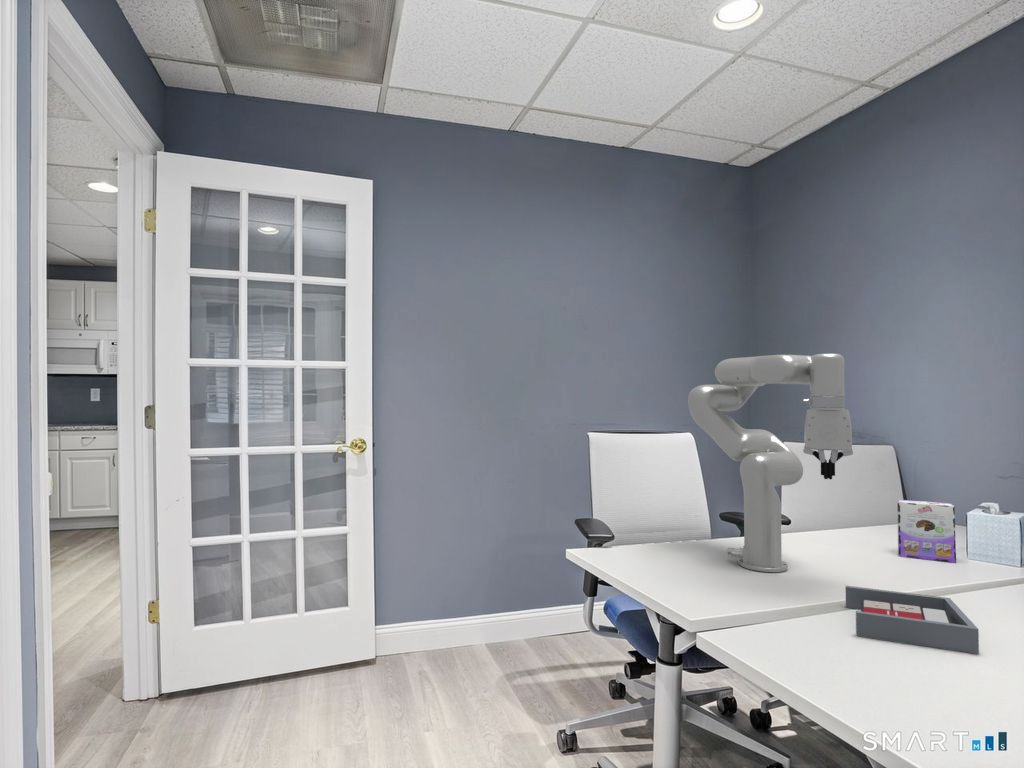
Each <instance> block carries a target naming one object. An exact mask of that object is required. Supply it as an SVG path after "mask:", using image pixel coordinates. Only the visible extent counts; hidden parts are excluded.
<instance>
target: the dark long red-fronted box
mask: <svg viewBox="0 0 1024 768" xmlns="http://www.w3.org/2000/svg"><path fill="white" fill-rule="evenodd" d="M860 611H862V612H869V613H877V614H884V615H892V616H899V617H907V618H914V619H921V620H929V621H936V622H944V623H951V621H950V618H949V615H948V613H947V612H945V611H944V610H937V609H928V608H923V609H920V607H919V606H911V605H902V604H893V605H890V603H885V602H877V601H868V600H864V602H862V603H861V609H860Z"/></svg>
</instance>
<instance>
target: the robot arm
mask: <svg viewBox="0 0 1024 768" xmlns="http://www.w3.org/2000/svg"><path fill="white" fill-rule="evenodd" d="M714 376H715V378H716V380H717V381H718V383H720V384H709V383H708V384H701V385H698V386H695V387H694V388H692V389H691V390H690V392H689V393H688V396H687V406H688V411H689V413H690V416H691V418H692V419H693V421H694V422H695V424H696V425H697V426H699V428H701V430H702V431H704V432H705V433H706V434H707V435H708V436H709V437H710V438H711V439H712V440H713V441H714V442H715V444H716V445H717V446H718V447H719V448H720V449H721V450H722V451H723V452H724V453H725V454H726V455H727V457H729V458H730V459H731V460H732V461H735V462H740V463H739V475H740V479H741V482H742V483H741V484H742V490H743V521H744V523H743V526H744V527H743V529H744V530H743V531H744V533H743V536H744V539H743V541H744V543H743V544H744V545H743V547H739V548H733V547H727V555H728V556H729V555H730V556H731V557H739V558H738V565H739V566H741V567H743V568H745V569H747V570H752V571H757V572H763V573H783V572H785V571H787V570H788V569H789V565H788V563H787V562H785V561H784V560H782V557H783V556H782V503H781V499H780V496H779V494H778V492H777V489H776V488H775V487H780V486H782V487H783V486H791V485H796V484H797V483H798V482H800V480H801V479H802V478H803V475H804V466H803V464H802V462H801V460H800V458H799V457H798V455H797V454H795V452H793V450H791V449H790V448H789V447H788V446H787V445H786V444H785V443H784V442H783V441H782V440H781V439H780V438H778V437H777V436H776V435H775V434H774V433H772V432H770V431H769V430H766V429H760V428H759V429H758V428H754V429H751V428H750V429H749V428H744V427H742V426H741V425H740V424H738V423H737V422H736V421H735V420H734V418H732V417H730V416H729V415H727V414H725V413H723V412H734V411H735V412H736V411H737V410H739V409H741V408H742V407H743V406H744V405H745V404H746V403H747V402H748V400H749V399H750V398H751V396H752V395H753V394H754V393H756V390H757V389H759V387H763V386H765V385H771V384H772V385H809V397H808V398H804V399H803V405H807V406H809V409H806V413H805V421H804V432H803V433H804V435H803V436H804V438H803V440H804V446H803V450H802V451H803V453H804V454H805V455H810V456H814V457H815V458H816V459H817V460H818V461H819V462H820V476H823V479H824V480H828V479H829V480H833V477H835V476H836V463H837V462H838V461H839V460H840V459H842V458H844V457H848V456H852V455H853V454H854V452H853V433H852V431H853V430H852V421H851V415H850V410H849V409H845V407H846V405H845V403H846V402H845V401H846V397H845V394H846V393H845V387H846V386H845V359H844V356H843V355H842V354H840V353H818V354H814V355H802V354H773V355H771V354H770V355H760V356H759V355H758V356H747V357H746V356H745V357H734V358H733V357H732V358H727V359H723V360H721V361H720V362H718V364H717V365H716V366H715V369H714ZM825 451H830V457H829V459H826V455H825V454H826V453H825ZM827 461H828V462H827Z"/></svg>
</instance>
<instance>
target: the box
mask: <svg viewBox="0 0 1024 768" xmlns="http://www.w3.org/2000/svg"><path fill="white" fill-rule="evenodd" d="M844 591H845V607H846V608H848V609H856V610H855V634H856V636H857V637H863V638H869V639H873V640H875V639H876V640H882V641H890V642H894V643H895V642H896V643H901V644H902V643H903V644H909V645H915V646H922V647H928V648H934V647H935V648H934V649H942V650H947V651H948V650H949V651H954V652H955V651H956V652H961V651H962V652H963V653H967V652H968V653H969V654H975V655H979V653H980V645H979V643H980V642H979V641H980V640H979V639H980V638H979V634H980V633H979V632H980V631H979V628H978V627H977V626H976V625H975V624H974V623H973V622H972V620H971V619H970V618H969V617H968V616H967V615H966V614H965V613H964V612H963V610H962V609H961V608H959V606H958V605H957V604H956V603H955V602H954V601H953V600H952V599H951V598H950V597H945V596H935V595H928V594H927V595H926V594H921V593H919V594H918V593H911V592H902V591H893V590H885V589H877V588H869V587H860V586H853V585H845V590H844ZM864 600H868V601H877V602H885V603H890V605H893V604H902V605H911V606H919V607H920V609H923V608H928V609H937V610H944V611H945V612H947V613H948V615H949V618H950V621H951V623H944V622H936V621H929V620H921V619H914V618H907V617H899V616H892V615H884V614H877V613H869V612H862V611H861V603H862V602H864Z"/></svg>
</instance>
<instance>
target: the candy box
mask: <svg viewBox="0 0 1024 768" xmlns="http://www.w3.org/2000/svg"><path fill="white" fill-rule="evenodd" d="M896 502H897V503H896V505H897V507H896V508H897V514H896V515H897V554H898V557H902V558H910V559H911V558H912V559H917V560H918V559H919V560H927V561H937V562H944V563H953V564H954V563H955V564H956V563H957V552H956V551H957V549H956V548H957V547H956V546H957V545H956V543H957V542H956V518H955V517H956V516H955V515H956V514H955V510H956V508H955V505H954V504H953V503H947V502H935V501H934V502H933V501H925V500H923V501H922V500H910V499H907V500H906V499H897V501H896Z"/></svg>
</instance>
